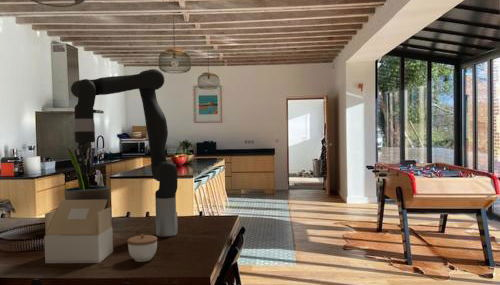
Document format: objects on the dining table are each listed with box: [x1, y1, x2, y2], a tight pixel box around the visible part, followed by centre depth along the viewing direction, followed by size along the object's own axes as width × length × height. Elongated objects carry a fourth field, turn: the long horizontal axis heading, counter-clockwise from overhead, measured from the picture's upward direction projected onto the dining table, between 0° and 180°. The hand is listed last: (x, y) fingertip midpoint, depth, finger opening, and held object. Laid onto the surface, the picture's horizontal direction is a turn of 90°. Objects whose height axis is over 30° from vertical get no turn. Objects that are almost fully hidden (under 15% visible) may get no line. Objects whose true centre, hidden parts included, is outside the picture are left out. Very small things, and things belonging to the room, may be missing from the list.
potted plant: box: [63, 148, 111, 209], centre depth 215 cm, size 21×22×40 cm
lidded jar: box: [127, 233, 158, 263], centre depth 157 cm, size 11×11×9 cm
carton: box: [43, 206, 114, 264], centre depth 161 cm, size 20×15×18 cm
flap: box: [45, 199, 107, 235], centre depth 159 cm, size 18×16×1 cm
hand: (85, 173), depth 167 cm, fingers open, 3 cm apart
